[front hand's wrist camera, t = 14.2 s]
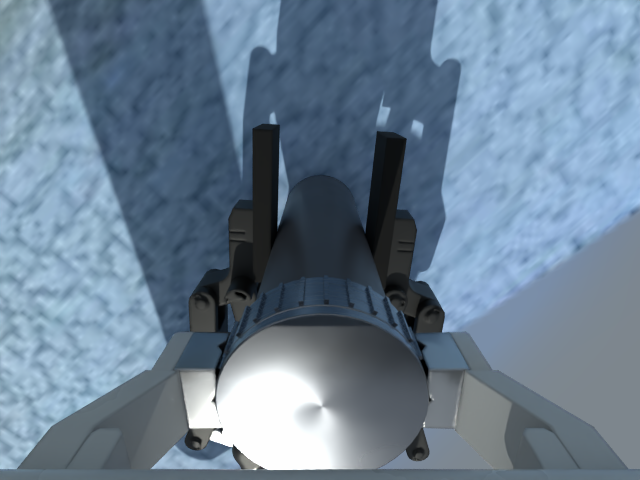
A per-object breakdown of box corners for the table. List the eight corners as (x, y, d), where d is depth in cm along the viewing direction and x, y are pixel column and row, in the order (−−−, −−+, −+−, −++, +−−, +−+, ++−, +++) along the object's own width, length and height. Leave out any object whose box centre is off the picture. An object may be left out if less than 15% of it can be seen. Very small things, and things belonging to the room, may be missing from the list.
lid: (390, 250, 9) (406, 283, 8) (430, 404, 11) (450, 459, 9) (199, 303, 10) (173, 346, 8) (266, 442, 11) (256, 500, 10)
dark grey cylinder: (344, 166, 23) (388, 293, 8) (362, 230, 24) (428, 436, 10) (276, 186, 23) (202, 342, 9) (298, 248, 25) (267, 472, 10)
